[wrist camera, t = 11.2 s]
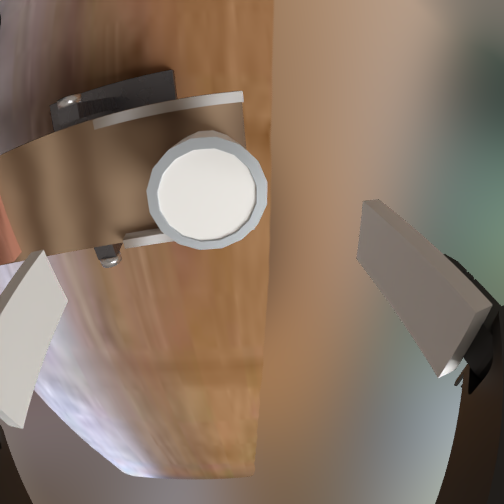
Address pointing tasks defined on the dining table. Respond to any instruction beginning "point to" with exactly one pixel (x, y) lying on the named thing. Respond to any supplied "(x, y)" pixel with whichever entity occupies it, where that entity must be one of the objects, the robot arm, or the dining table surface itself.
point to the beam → (100, 176)
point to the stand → (110, 102)
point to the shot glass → (207, 191)
